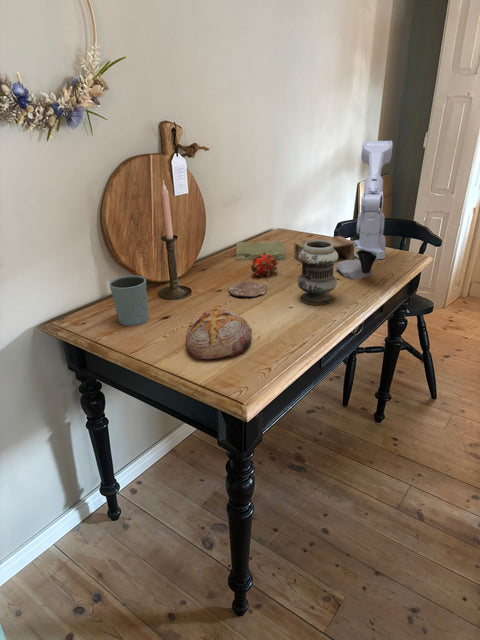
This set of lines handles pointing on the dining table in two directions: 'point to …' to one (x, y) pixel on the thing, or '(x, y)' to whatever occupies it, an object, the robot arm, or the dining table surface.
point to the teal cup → (130, 299)
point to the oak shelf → (339, 245)
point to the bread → (218, 335)
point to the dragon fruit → (264, 264)
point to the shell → (247, 290)
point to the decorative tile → (259, 250)
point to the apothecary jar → (317, 271)
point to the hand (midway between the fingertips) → (365, 272)
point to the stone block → (352, 269)
